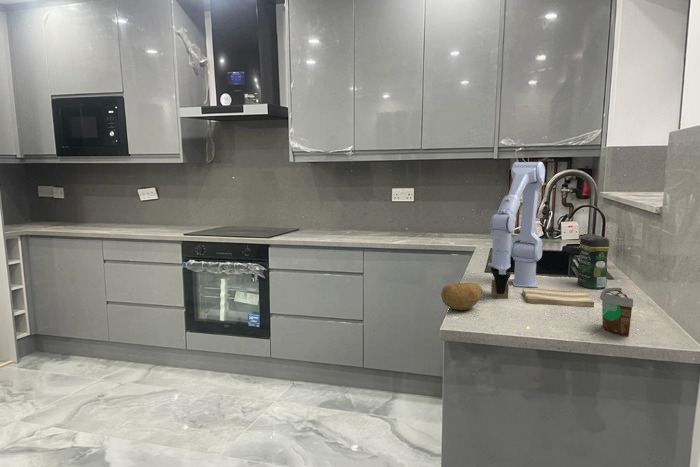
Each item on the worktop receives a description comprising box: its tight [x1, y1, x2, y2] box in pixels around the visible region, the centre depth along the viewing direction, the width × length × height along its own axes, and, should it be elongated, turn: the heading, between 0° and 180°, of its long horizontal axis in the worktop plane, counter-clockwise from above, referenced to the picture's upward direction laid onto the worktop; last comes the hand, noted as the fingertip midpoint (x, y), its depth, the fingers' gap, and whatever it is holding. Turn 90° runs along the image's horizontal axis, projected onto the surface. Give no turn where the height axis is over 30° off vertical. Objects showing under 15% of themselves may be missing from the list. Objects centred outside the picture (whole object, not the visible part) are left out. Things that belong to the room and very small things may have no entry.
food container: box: [599, 287, 634, 337], centre depth 125 cm, size 12×6×10 cm, turn 163°
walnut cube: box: [490, 278, 510, 300], centre depth 157 cm, size 5×5×5 cm
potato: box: [440, 282, 483, 311], centre depth 143 cm, size 10×14×8 cm
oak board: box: [522, 287, 595, 308], centre depth 154 cm, size 13×19×2 cm
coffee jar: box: [577, 233, 610, 290], centre depth 170 cm, size 10×8×19 cm
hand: (499, 291), depth 157 cm, fingers closed on walnut cube, 5 cm apart
